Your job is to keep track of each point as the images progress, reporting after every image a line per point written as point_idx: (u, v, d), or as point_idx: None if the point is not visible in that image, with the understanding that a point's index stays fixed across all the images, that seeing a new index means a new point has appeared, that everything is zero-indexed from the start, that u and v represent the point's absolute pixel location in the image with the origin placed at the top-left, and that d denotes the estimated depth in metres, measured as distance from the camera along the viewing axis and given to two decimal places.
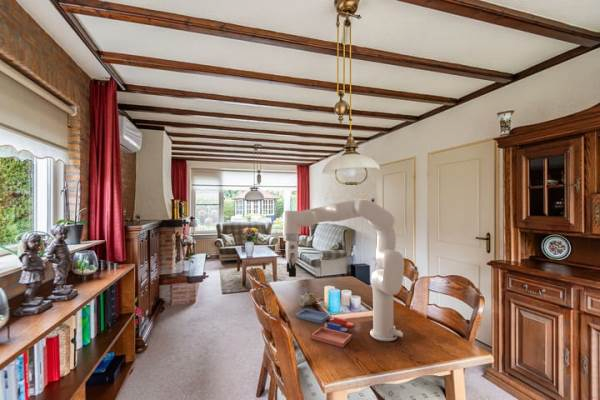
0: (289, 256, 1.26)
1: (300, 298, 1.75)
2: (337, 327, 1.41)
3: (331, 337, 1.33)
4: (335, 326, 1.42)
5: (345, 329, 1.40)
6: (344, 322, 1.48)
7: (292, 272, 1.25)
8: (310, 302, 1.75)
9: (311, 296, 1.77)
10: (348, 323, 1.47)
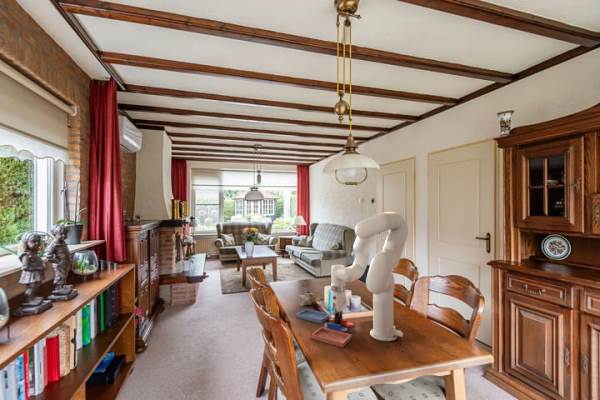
0: (332, 309, 1.48)
1: (300, 298, 1.75)
2: (337, 327, 1.41)
3: (331, 337, 1.33)
4: (335, 326, 1.42)
5: (345, 329, 1.40)
6: (344, 322, 1.48)
7: (336, 320, 1.49)
8: (310, 302, 1.76)
9: (311, 296, 1.77)
10: (348, 323, 1.47)
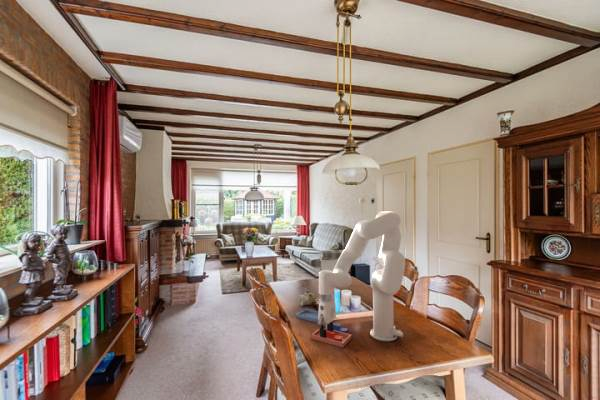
0: (319, 318, 1.31)
1: (299, 297, 1.76)
2: (337, 327, 1.41)
3: None
4: (335, 326, 1.42)
5: (345, 329, 1.40)
6: (332, 335, 1.32)
7: (322, 333, 1.30)
8: (309, 302, 1.76)
9: (310, 296, 1.77)
10: (336, 336, 1.31)
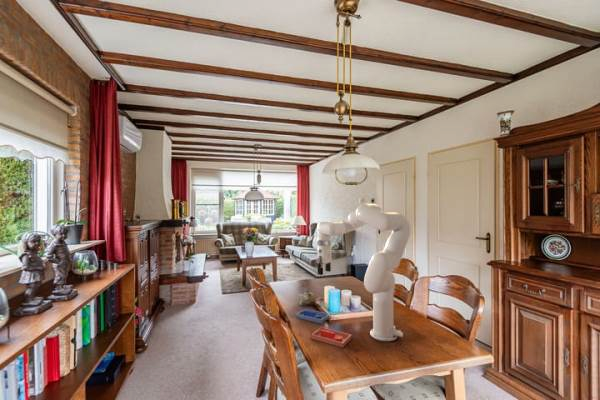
0: None
1: (298, 297, 1.78)
2: (312, 314, 1.58)
3: None
4: (310, 313, 1.59)
5: (319, 315, 1.57)
6: (332, 335, 1.32)
7: (319, 271, 1.58)
8: (308, 301, 1.77)
9: (309, 295, 1.78)
10: (336, 336, 1.31)
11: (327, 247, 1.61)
